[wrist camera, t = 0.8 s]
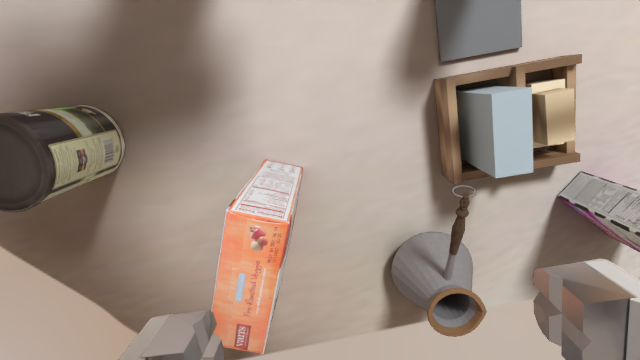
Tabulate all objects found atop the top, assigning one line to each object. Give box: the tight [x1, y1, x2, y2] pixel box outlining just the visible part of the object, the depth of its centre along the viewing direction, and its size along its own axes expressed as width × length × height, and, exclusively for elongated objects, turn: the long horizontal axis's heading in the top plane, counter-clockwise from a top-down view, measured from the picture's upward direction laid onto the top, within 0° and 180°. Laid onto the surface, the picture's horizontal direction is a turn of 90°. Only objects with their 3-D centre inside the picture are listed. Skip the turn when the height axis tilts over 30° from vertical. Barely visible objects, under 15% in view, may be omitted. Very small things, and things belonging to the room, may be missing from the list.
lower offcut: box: [525, 79, 565, 148], centre depth 46 cm, size 8×4×4 cm, turn 9°
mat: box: [435, 0, 522, 62], centre depth 44 cm, size 9×10×1 cm
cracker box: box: [211, 160, 303, 354], centre depth 41 cm, size 14×6×21 cm, turn 168°
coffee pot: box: [391, 185, 486, 337], centre depth 45 cm, size 21×12×15 cm, turn 4°
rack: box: [434, 54, 582, 184], centre depth 45 cm, size 13×16×5 cm
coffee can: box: [0, 105, 125, 212], centre depth 43 cm, size 10×10×14 cm
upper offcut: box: [532, 88, 576, 146], centre depth 42 cm, size 6×3×3 cm, turn 13°
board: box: [456, 86, 533, 178], centre depth 42 cm, size 9×4×11 cm, turn 10°
